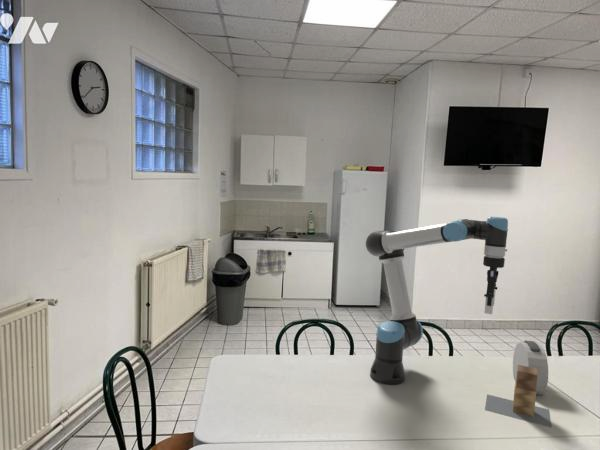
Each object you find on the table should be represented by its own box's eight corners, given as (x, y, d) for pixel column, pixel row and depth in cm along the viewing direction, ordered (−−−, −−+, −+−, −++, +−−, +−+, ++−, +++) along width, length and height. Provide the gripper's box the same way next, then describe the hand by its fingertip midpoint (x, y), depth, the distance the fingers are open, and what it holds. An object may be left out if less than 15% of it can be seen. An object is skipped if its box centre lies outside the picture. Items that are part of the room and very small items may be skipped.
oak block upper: (513, 399, 160) (515, 386, 160) (514, 393, 165) (515, 381, 164) (535, 404, 157) (536, 391, 157) (534, 398, 162) (535, 385, 161)
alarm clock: (546, 400, 172) (551, 353, 170) (526, 397, 173) (531, 351, 171) (528, 377, 192) (533, 334, 190) (511, 374, 194) (515, 333, 192)
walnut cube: (516, 387, 159) (517, 370, 158) (516, 380, 165) (517, 364, 164) (535, 392, 156) (537, 375, 155) (535, 384, 162) (536, 368, 161)
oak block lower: (512, 411, 161) (513, 399, 160) (512, 405, 165) (514, 393, 165) (533, 417, 158) (535, 404, 157) (533, 410, 162) (534, 398, 162)
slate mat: (484, 410, 161) (484, 409, 161) (487, 395, 174) (487, 394, 173) (551, 428, 151) (551, 427, 151) (548, 410, 164) (549, 409, 164)
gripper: (503, 262, 153) (498, 319, 155) (505, 253, 175) (501, 303, 177) (481, 259, 156) (476, 315, 159) (486, 251, 178) (481, 300, 181)
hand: (489, 309), depth 168 cm, fingers open, 13 cm apart
